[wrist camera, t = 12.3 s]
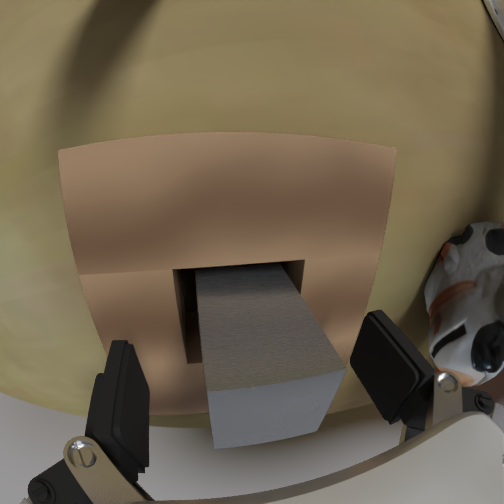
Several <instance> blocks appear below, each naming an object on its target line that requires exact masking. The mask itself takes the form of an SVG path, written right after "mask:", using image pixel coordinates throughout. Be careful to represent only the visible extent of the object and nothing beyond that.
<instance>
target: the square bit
mask: <svg viewBox="0 0 504 504" xmlns="http://www.w3.org/2000/svg"><path fill="white" fill-rule="evenodd" d="M195 281H196V299H197V313H198V325H199V336H200V346H201V356H202V365H203V374H204V382H205V390H206V398H207V405H208V412H209V419H210V425H211V432H212V438H213V443H214V449H222V448H231V447H239V446H246V445H254V444H260V443H265V442H271V441H277V440H281V439H286V438H291V437H295V436H299V435H304V434H308V433H311V432H315V431H317V429H318V428H319V426H320V424H321V422H322V420H323V418H324V416H325V414H326V413H327V411H328V409H329V407H330V405H331V403H332V401H333V398H334V396H335V394H336V392H337V390H338V388H339V386H340V384H341V381H342V379H343V377H344V375H345V372H346V370H347V368H346V366H345V364H344V363H343V361H342V360H341V358H340V356H339V355H338V353H337V352H336V350H335V349H334V347H333V345H332V344H331V342H330V341H329V339H328V337H327V336H326V334H325V333H324V331H323V330H322V328H321V326H320V325H319V323H318V322H317V320H316V319H315V317H314V315H313V314H312V312H311V311H310V309H309V308H308V306H307V305H306V303H305V301H304V300H303V298H302V297H301V295H300V294H299V292H298V291H297V289H296V287H295V286H294V284H293V283H292V281H291V280H290V278H289V277H288V275H287V274H286V272H285V271H284V269H283V268H282V266H281V264H280V263H279V262H267V263H254V264H241V265H227V266H213V267H199V268H195Z"/></svg>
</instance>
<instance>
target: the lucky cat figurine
mask: <svg viewBox="0 0 504 504" xmlns="http://www.w3.org/2000/svg"><path fill="white" fill-rule="evenodd" d="M424 296H425V300H426V306H427V307H426V310H427V312H428V313H429V316H430V327H429V329H428V337H429V353H430V355H431V358H432V359H433V361H434V363H435V369H434V370H435V372H434V375H435V376H436V374H437V373H439V372H440V371H449V372H452V373H454V374H455V375H456V376H457V377H458V378H459V380H460V382H461V386H463V387H469V386H476V385H480V384H482V383H484V382H485V381H488V380H489V379H491V378H493V377H495V376H496V374H498V373H499V372H500V371H501V370H502V369H503V367H504V223H503V222H496V221H485V222H478V223H472V224H469V225H468V226H467V227H466V229H465V231H464V233H463V236H459V237H454V238H451V239H449V240H448V241H447V242H445V244H444V246H443V249H442V251H441V254H440V256H439V258H438V260H437V262H436V264H435V266H434V268H433V270H432V272H431V274H430V276H429V278H428V280H427V282H426V285H425V287H424Z"/></svg>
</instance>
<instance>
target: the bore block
mask: <svg viewBox="0 0 504 504" xmlns="http://www.w3.org/2000/svg"><path fill="white" fill-rule="evenodd" d="M396 153H397V148H392V147H387V146H382V145H376V144H370V143H364V142H358V141H351V140H344V139H336V138H328V137H319V136H309V135H297V134H282V133H262V132H198V133H178V134H164V135H152V136H142V137H133V138H125V139H118V140H111V141H104V142H98V143H92V144H86V145H81V146H76V147H71V148H66V149H61V150H58V160H59V172H60V181H61V190H62V197H63V204H64V210H65V216H66V222H67V227H68V232H69V237H70V242H71V246H72V250H73V255H74V259H75V263H76V267H77V270H78V274H79V278H80V281H81V284H82V288H83V291H84V294H85V297H86V301H87V304H88V307H89V310H90V312H91V315H92V318H93V321H94V324H95V326H96V329H97V332H98V334H99V337H100V339H101V342H102V344H103V347H104V349H105V351H106V354H107V356H108V354H109V350H110V346H111V342H112V341H113V340H127V341H128V342H129V344H133V345H134V348H135V351H136V354H137V357H138V360H139V362H140V365H141V368H142V370H143V373H144V376H145V378H146V381H147V383H148V386H149V390H150V405H149V415H185V414H200V413H209V412H208V405H207V398H206V390H205V382H204V374H203V365H202V356H201V346H200V336H199V325H198V313H197V312H185V305H184V298H183V290H182V281H181V272H180V269H185V268H199V267H213V266H227V265H241V264H254V263H267V262H279V263H280V264H281V266H282V268H283V269H284V271H285V272H286V274H287V275H288V277H289V278H290V280H291V281H292V283H293V284H294V286H295V287H296V289H297V291H298V292H299V294H300V295H301V297H302V298H303V300H304V301H305V303H306V305H307V306H308V308H309V309H310V311H311V312H312V314H313V315H314V317H315V319H316V320H317V322H318V323H319V325H320V326H321V328H322V330H323V331H324V333H325V334H326V336H327V337H328V339H329V341H330V342H331V344H332V345H333V347H334V349H335V350H336V352H337V353H338V355H339V356H340V358H341V360H342V361H343V363H344V364H345V366H346V365H347V363H348V360H349V357H350V355H351V352H352V349H353V346H354V344H355V341H356V338H357V335H358V332H359V329H360V326H361V323H362V319H363V316H364V313H365V310H366V306H367V303H368V300H369V296H370V292H371V289H372V285H373V281H374V278H375V274H376V270H377V266H378V261H379V257H380V253H381V248H382V244H383V239H384V234H385V229H386V224H387V218H388V213H389V207H390V201H391V194H392V187H393V180H394V172H395V163H396Z"/></svg>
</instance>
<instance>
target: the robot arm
mask: <svg viewBox="0 0 504 504" xmlns="http://www.w3.org/2000/svg"><path fill="white" fill-rule="evenodd" d="M483 1H484V3H485V5H486V7H487V10H488V12H489V14H490V16H491V18H492V20H493V22H494V24H495V26H496V27H497V29H498V31H499V33H500V35H501V36H502V38H503V40H504V0H483ZM350 364H351V367H352V368H353V370H354V371H355V373H356V375H357V376H358V378H359V379H360V381H361V383H362V384H363V386H364V387H365V389H366V391H367V392H368V394H369V395H370V397H371V399H372V400H373V402H374V404H375V405H376V407H377V408H378V410H379V412H380V413H381V415H382V417H383V418H384V419H385V420H388V422H389V424H390V425H391V424H393V423H395V422H397V421H399V420H400V419H401V420H402V422H403V427H402V432H401V436H400V442H399V445H398V446H396V447H394V448H392V449H390V450H388V451H386V452H384V453H382V454H379V455H377V456H375V457H373V458H370V459H368V460H366V461H364V462H361V463H359V464H356V465H354V466H351V467H349V468H346V469H343V470H341V471H338V472H335V473H332V474H329V475H326V476H323V477H320V478H317V479H314V480H310V481H307V482H303V483H299V484H295V485H292V486H287V487H283V488H279V489H274V490H269V491H264V492H259V493H253V494H247V495H240V496H232V497H223V498H212V499H199V500H169V501H155V500H154V499H153V498H152V497H151V496H150V495H149V494H148V493H147V492H146V491H145V490H144V489H143V488H142V487H141V486H140V485H139V484H138V483H137V481H138V473H145V467H149V405H150V390H149V386H148V383H147V381H146V378H145V376H144V373H143V370H142V368H141V365H140V362H139V360H138V357H137V354H136V351H135V348H134V345H133V344H129V342H128V341H127V340H113V341H112V342H111V346H110V350H109V354H108V358H107V362H106V366H105V371H104V373H99V374H98V375H97V376H96V379H95V383H94V388H93V392H92V397H91V402H90V407H89V412H88V418H87V424H86V430H85V437H84V436H78V437H75V438H72V439H71V440H69V441H68V442H67V444H66V445H65V448H64V451H63V454H64V459H62V460H61V461H59V462H58V463H56V464H55V465H53V466H52V467H50V468H49V469H47V470H46V471H44V472H43V473H41V474H39V475H38V476H36V477H35V478H33V479H32V480H31V481H30V483H29V485H28V494H29V497H28V498H27V499H26V498H24V499H23V500H22V502H21V503H20V504H504V407H503V406H501V405H499V404H498V403H495V405H494V401H493V399H492V397H491V396H490V395H489V394H488V393H486V392H484V391H479V390H475V389H471V388H467V387H463V386H461V382H460V380H459V378H458V377H457V376H456V375H455V374H454V373H452V372H449V371H440V372H439V373H437V374H436V376H435V375H434V372H435V370H434V369H433V368H432V366H431V365H430V364H429V363H428V362H427V360H426V359H425V358H424V357H423V356H422V355H421V353H420V352H419V351H418V350H417V349H416V348H415V346H414V345H413V344H412V343H411V342H410V341H409V340H408V338H407V337H406V336H405V335H404V334H403V333H402V332H401V331H400V329H399V328H398V327H397V326H396V325H395V324H394V323H393V322H392V321H391V319H390V318H389V317H388V316H387V315H386V314H385V313H384V312H383V311H382V310H376V311H372V312H369V313H368V314H367V316H365V318H364V320H363V323H362V326H361V329H360V332H359V335H358V338H357V341H356V344H355V346H354V349H353V352H352V355H351V357H350Z"/></svg>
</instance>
